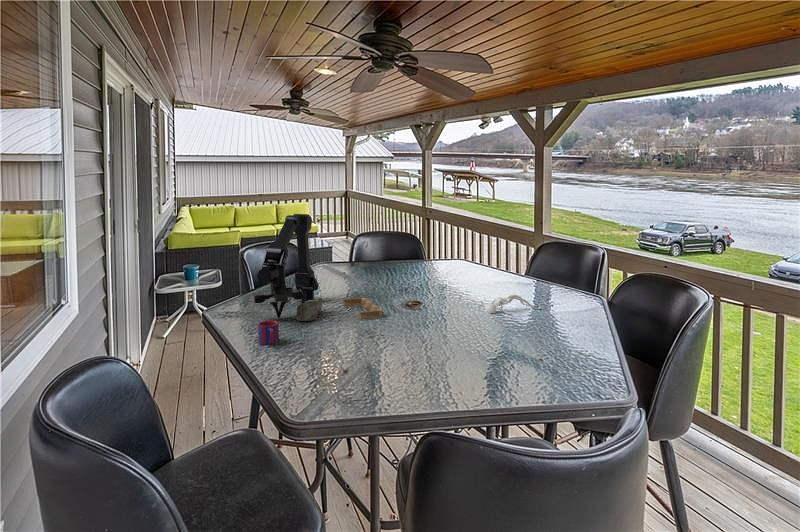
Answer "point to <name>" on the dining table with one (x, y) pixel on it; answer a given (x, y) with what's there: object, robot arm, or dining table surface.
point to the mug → (268, 332)
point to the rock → (309, 310)
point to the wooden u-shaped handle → (373, 309)
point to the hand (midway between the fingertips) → (278, 317)
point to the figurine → (502, 301)
